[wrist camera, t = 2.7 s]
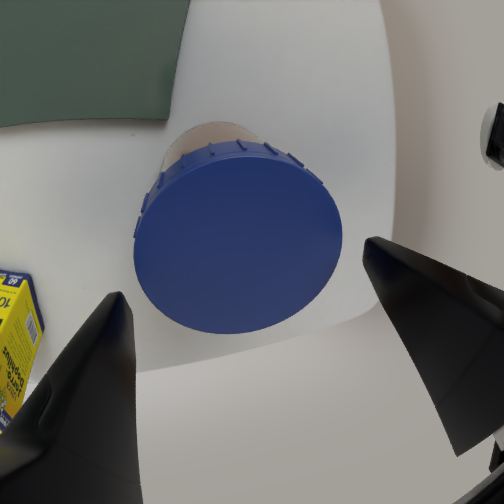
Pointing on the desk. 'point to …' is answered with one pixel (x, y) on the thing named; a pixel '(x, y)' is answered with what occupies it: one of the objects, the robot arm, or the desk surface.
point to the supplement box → (16, 340)
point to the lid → (236, 238)
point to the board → (88, 59)
